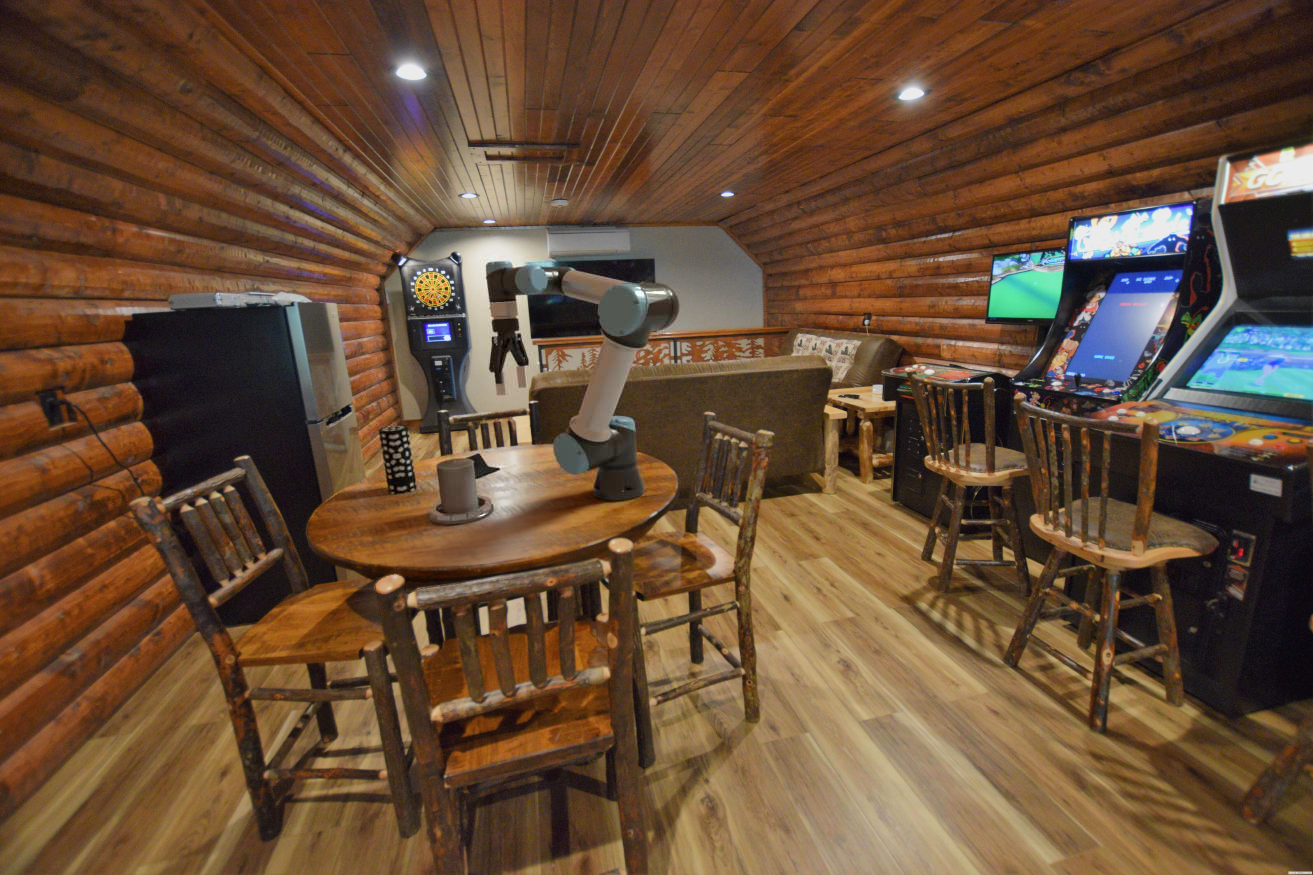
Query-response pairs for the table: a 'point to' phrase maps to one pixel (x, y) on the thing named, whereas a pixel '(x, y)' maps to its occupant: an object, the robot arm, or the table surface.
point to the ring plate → (461, 518)
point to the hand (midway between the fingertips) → (512, 391)
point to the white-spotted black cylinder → (397, 459)
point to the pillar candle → (457, 486)
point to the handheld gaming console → (481, 466)
